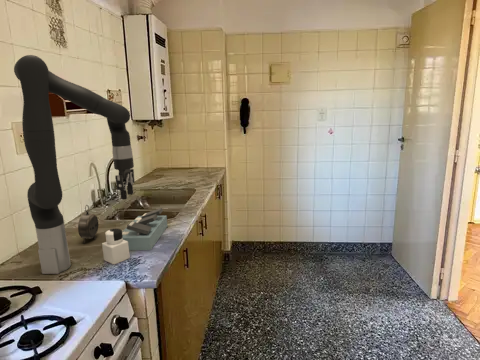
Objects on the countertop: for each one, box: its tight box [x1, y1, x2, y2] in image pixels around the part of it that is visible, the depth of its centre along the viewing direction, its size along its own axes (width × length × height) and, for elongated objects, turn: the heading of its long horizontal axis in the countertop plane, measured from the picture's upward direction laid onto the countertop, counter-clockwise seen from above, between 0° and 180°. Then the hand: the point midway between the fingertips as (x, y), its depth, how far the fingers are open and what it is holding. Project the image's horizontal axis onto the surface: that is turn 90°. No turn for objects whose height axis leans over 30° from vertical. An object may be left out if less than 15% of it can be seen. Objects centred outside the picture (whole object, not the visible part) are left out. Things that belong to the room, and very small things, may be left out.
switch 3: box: [126, 220, 152, 235], centre depth 144 cm, size 5×9×2 cm, turn 87°
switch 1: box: [141, 207, 164, 219], centre depth 162 cm, size 5×9×2 cm, turn 87°
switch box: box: [122, 215, 168, 251], centre depth 154 cm, size 27×14×7 cm, turn 177°
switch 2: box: [136, 214, 158, 225], centre depth 153 cm, size 5×9×2 cm, turn 87°
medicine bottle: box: [101, 228, 131, 265], centre depth 133 cm, size 7×7×12 cm
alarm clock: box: [77, 204, 99, 244], centre depth 153 cm, size 11×5×16 cm, turn 177°
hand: (127, 196), depth 141 cm, fingers open, 6 cm apart
